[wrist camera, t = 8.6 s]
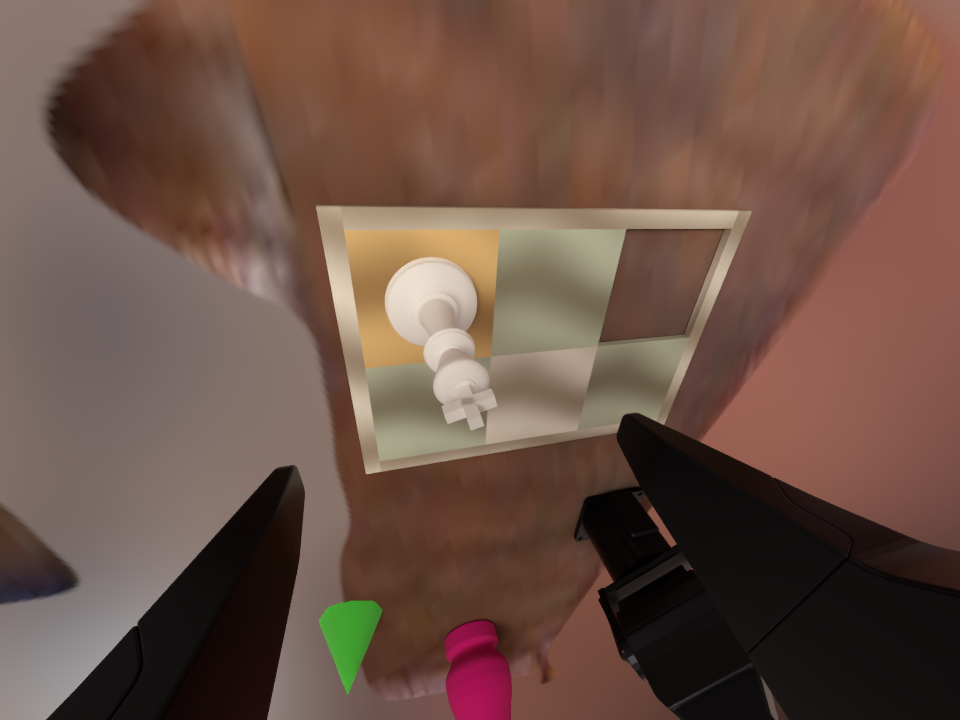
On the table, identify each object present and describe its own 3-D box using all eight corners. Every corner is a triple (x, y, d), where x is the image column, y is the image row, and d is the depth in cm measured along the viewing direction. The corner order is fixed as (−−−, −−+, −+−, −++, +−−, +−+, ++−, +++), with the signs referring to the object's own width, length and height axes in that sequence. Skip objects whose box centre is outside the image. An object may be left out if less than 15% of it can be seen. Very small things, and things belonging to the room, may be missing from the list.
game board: (660, 421, 30) (663, 424, 29) (366, 468, 24) (366, 474, 24) (744, 210, 21) (752, 211, 21) (317, 204, 15) (316, 206, 15)
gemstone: (350, 591, 31) (345, 673, 26) (396, 605, 35) (399, 681, 30) (303, 624, 32) (290, 710, 27) (353, 635, 35) (349, 714, 30)
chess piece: (369, 273, 17) (362, 388, 9) (463, 244, 17) (541, 327, 9) (403, 354, 20) (423, 499, 11) (484, 327, 20) (559, 448, 12)
